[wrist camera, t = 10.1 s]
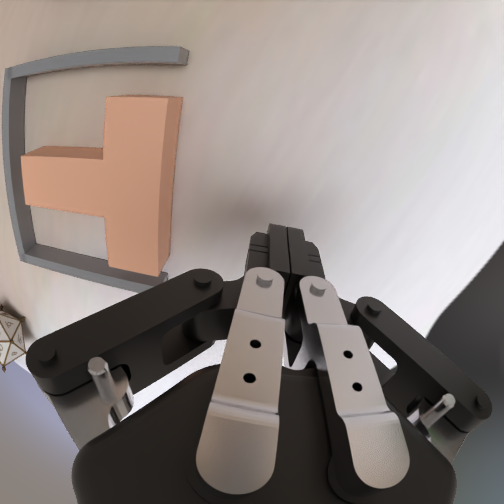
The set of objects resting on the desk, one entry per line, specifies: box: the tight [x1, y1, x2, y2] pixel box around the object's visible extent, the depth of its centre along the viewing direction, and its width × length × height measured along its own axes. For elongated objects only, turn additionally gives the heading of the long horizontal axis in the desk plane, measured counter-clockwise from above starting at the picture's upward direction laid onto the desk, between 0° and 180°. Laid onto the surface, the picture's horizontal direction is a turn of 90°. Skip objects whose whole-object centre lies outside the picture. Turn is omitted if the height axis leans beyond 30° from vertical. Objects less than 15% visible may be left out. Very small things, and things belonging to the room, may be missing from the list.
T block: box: [21, 95, 183, 277], centre depth 18 cm, size 12×12×3 cm
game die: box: [0, 305, 27, 372], centre depth 26 cm, size 9×8×10 cm
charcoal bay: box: [2, 46, 189, 293], centre depth 18 cm, size 18×16×2 cm
